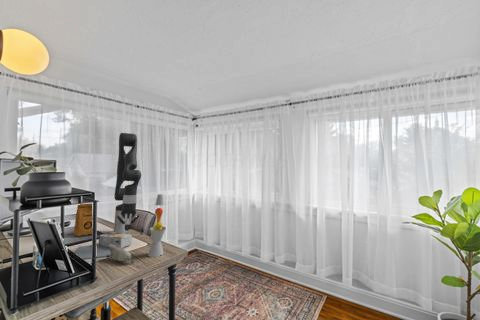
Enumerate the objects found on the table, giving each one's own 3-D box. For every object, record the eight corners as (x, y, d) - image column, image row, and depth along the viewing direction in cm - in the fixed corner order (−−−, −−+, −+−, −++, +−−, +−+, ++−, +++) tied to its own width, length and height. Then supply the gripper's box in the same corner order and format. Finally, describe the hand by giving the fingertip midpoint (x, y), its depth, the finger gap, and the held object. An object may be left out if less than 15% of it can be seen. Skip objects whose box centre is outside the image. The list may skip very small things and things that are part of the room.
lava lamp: (145, 253, 126) (150, 193, 128) (160, 250, 132) (165, 193, 133) (150, 258, 119) (155, 195, 121) (166, 255, 125) (170, 195, 126)
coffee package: (97, 234, 152) (100, 203, 153) (75, 238, 143) (78, 205, 144) (93, 231, 159) (96, 201, 160) (72, 234, 150) (75, 202, 151)
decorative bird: (124, 266, 108) (126, 251, 109) (104, 259, 115) (105, 245, 115) (133, 262, 113) (135, 248, 114) (113, 256, 120) (114, 242, 120)
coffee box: (131, 244, 136) (110, 241, 140) (132, 234, 137) (111, 231, 140) (120, 249, 128) (98, 245, 131) (121, 238, 128) (99, 235, 131)
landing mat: (78, 247, 128) (78, 246, 128) (120, 243, 138) (120, 242, 138) (70, 260, 110) (70, 259, 110) (119, 255, 120) (119, 254, 120)
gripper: (141, 201, 138) (138, 228, 137) (117, 201, 132) (115, 229, 131) (141, 202, 132) (139, 231, 131) (116, 203, 126) (114, 233, 125)
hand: (127, 230), depth 131 cm, fingers closed
